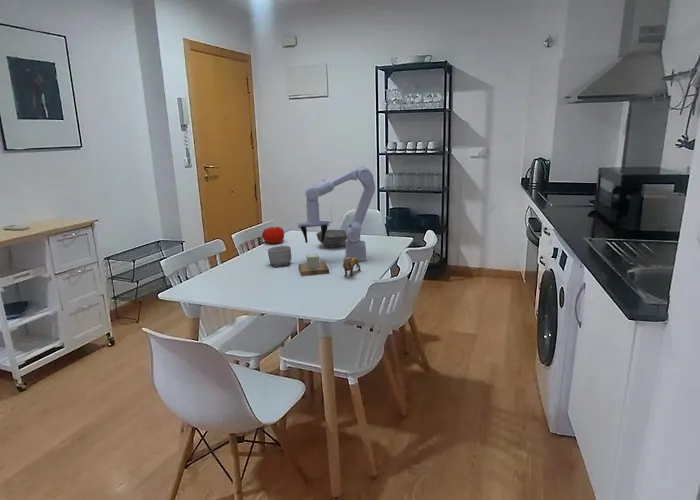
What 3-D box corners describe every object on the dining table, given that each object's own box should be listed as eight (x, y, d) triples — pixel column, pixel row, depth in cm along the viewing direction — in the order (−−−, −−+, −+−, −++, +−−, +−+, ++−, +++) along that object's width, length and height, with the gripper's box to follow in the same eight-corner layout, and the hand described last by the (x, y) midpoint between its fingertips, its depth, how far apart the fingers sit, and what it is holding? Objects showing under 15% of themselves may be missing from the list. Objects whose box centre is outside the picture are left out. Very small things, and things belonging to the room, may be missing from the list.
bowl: (356, 244, 249) (356, 230, 247) (338, 252, 235) (338, 236, 233) (329, 241, 259) (329, 227, 257) (310, 248, 244) (310, 233, 242)
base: (324, 265, 211) (324, 261, 211) (329, 273, 200) (329, 269, 200) (298, 268, 209) (298, 264, 209) (301, 276, 198) (301, 271, 197)
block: (318, 264, 207) (317, 253, 206) (319, 267, 202) (319, 256, 201) (307, 265, 206) (306, 254, 205) (308, 268, 201) (307, 257, 200)
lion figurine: (353, 279, 191) (352, 258, 189) (341, 279, 192) (340, 258, 190) (362, 269, 205) (361, 249, 202) (350, 268, 206) (349, 249, 204)
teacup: (287, 268, 210) (286, 251, 208) (265, 267, 213) (263, 250, 211) (296, 259, 224) (295, 243, 222) (275, 259, 226) (274, 243, 224)
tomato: (266, 239, 267) (265, 225, 265) (287, 239, 265) (286, 224, 263) (259, 245, 254) (257, 230, 252) (281, 245, 252) (280, 230, 250)
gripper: (327, 210, 218) (328, 238, 221) (296, 212, 215) (298, 241, 218) (329, 213, 211) (330, 241, 214) (298, 215, 208) (299, 244, 212)
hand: (314, 241), depth 216 cm, fingers open, 7 cm apart
